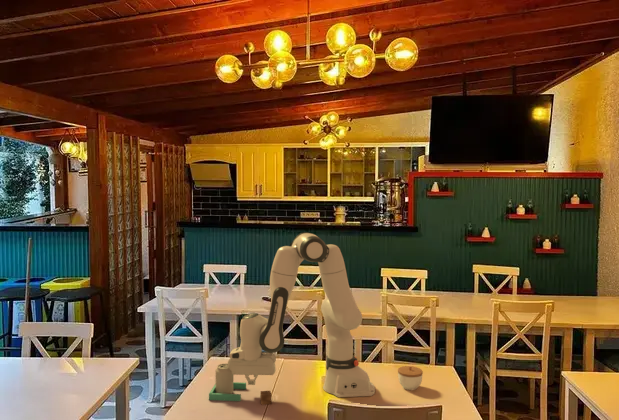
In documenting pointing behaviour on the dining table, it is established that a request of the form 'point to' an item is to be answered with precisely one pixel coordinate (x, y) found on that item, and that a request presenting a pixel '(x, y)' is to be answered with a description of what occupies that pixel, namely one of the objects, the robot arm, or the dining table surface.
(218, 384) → the can
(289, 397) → the dining table surface
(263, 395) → the walnut block
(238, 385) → the corral
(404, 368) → the lidded jar
